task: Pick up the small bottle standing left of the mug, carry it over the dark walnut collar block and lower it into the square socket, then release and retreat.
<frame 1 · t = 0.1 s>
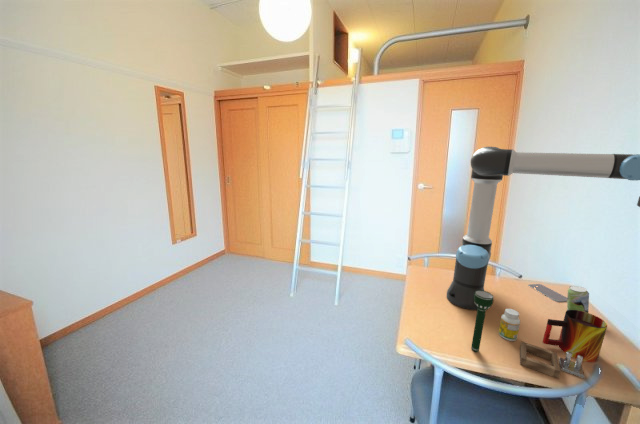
hand: (638, 256, 96), 28 cm above the table, fingers open, 13 cm apart
collar block: (537, 362, 84), on the table
supplement bottle: (507, 336, 96), on the table
beverage can: (574, 316, 109), on the table
mug: (572, 352, 89), on the table
smartphone: (547, 293, 126), on the table
flashlight: (474, 350, 89), on the table
peg rest: (571, 368, 82), on the table
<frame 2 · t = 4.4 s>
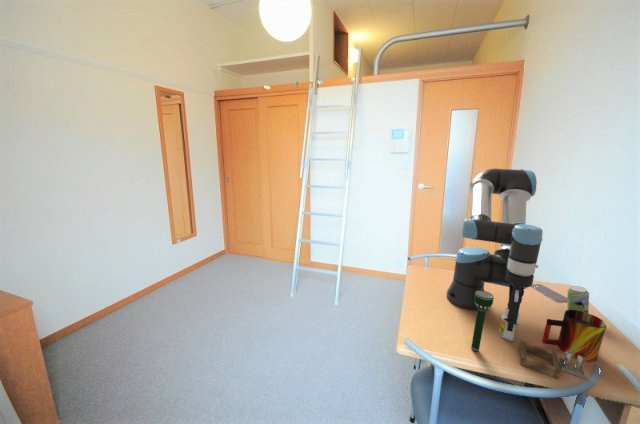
hand: (508, 332, 96), 1 cm above the table, fingers closed on supplement bottle, 5 cm apart
supplement bottle: (507, 336, 96), on the table, touching gripper
everything else where it was.
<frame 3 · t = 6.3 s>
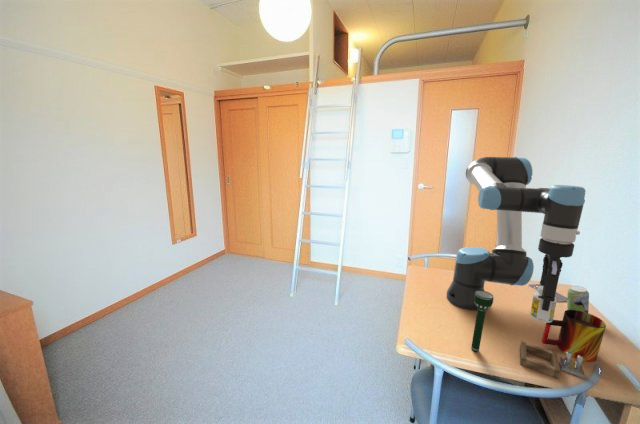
hand: (541, 314, 82), 16 cm above the table, fingers closed on supplement bottle, 5 cm apart
supplement bottle: (540, 318, 83), point 14 cm above the table, touching gripper
everything else where it was.
when the fingers open (3 cm above the table, at t = 8.5 s): supplement bottle drops 2 cm, resting in collar block.
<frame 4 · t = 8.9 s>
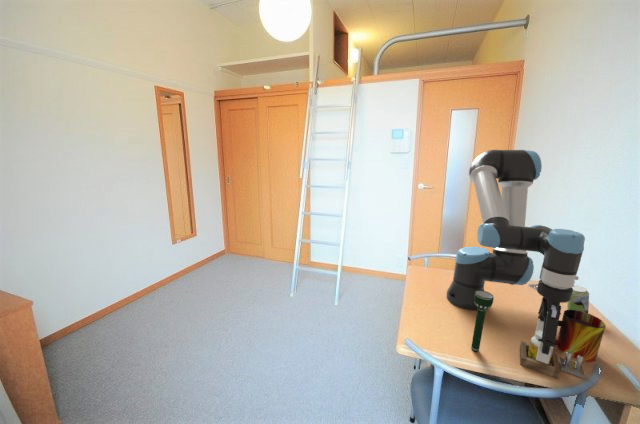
hand: (540, 349, 83), 4 cm above the table, fingers open, 10 cm apart
supplement bottle: (537, 362, 85), resting in collar block
everything else where it was.
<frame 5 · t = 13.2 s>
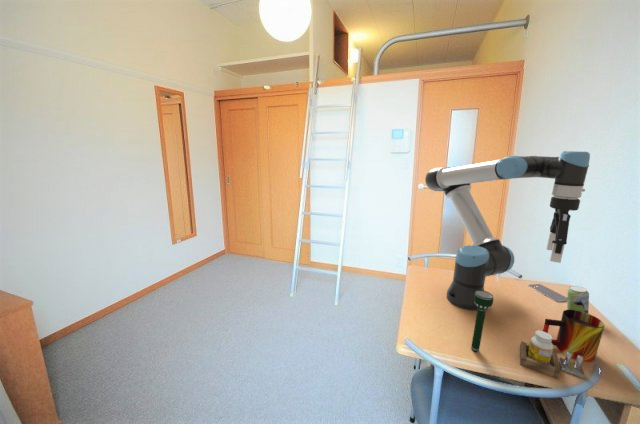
hand: (552, 255, 99), 27 cm above the table, fingers open, 13 cm apart
nothing on the table moved.
at the end: supplement bottle 0.1 cm off-centre on the collar block, point 0.0 cm above the collar block's base; supplement bottle tilted 0°; the gripper is holding nothing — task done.
